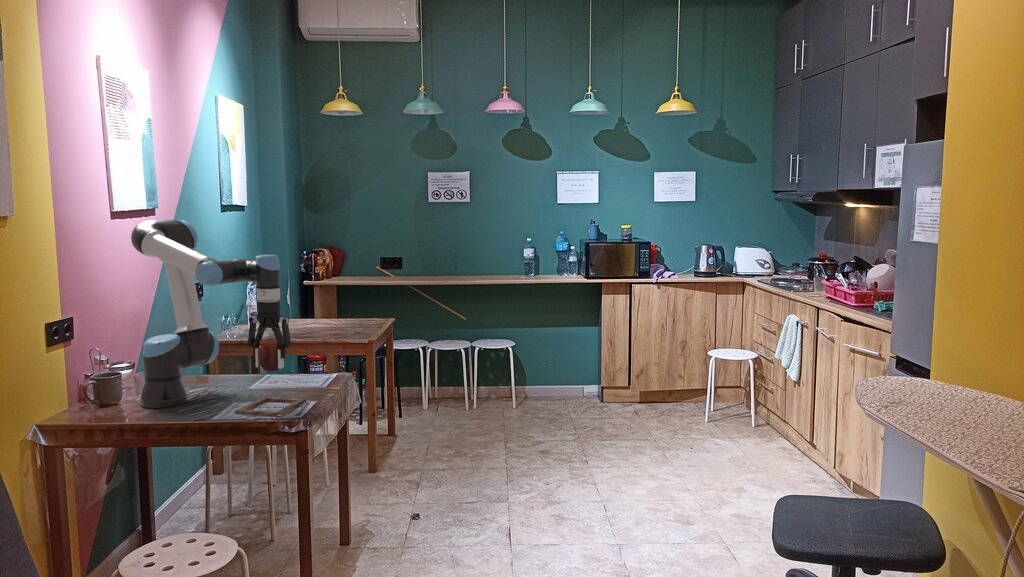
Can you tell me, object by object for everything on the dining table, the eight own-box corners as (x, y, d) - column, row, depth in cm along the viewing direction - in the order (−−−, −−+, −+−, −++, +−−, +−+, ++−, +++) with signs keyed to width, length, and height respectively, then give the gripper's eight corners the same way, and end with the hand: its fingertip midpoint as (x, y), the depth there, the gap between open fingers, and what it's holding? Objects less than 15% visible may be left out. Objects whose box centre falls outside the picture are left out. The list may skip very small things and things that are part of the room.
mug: (267, 366, 264) (266, 337, 262) (290, 367, 262) (289, 338, 261) (248, 373, 252) (247, 343, 251) (272, 375, 250) (271, 344, 249)
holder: (235, 413, 250) (235, 410, 250) (264, 399, 269) (264, 396, 269) (279, 416, 247) (279, 413, 247) (306, 401, 266) (306, 399, 266)
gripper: (234, 300, 252) (236, 367, 255) (291, 303, 249) (292, 371, 251) (246, 298, 260) (248, 363, 262) (301, 300, 256) (302, 366, 259)
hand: (269, 367), depth 257 cm, fingers closed on mug, 7 cm apart
